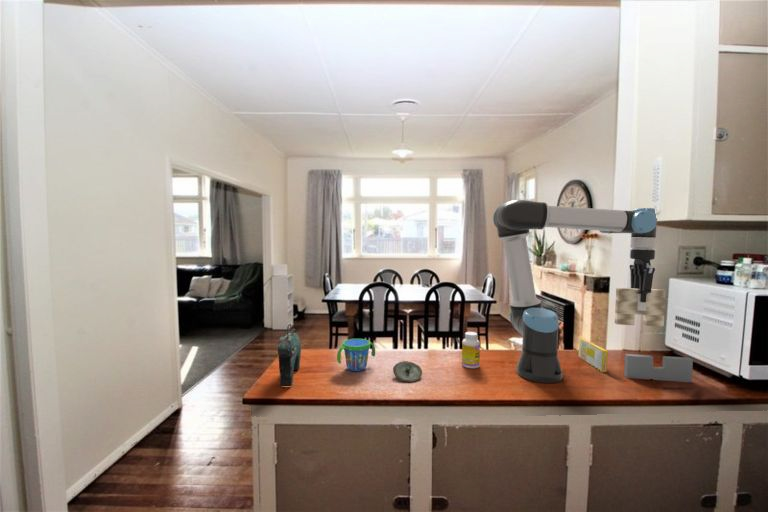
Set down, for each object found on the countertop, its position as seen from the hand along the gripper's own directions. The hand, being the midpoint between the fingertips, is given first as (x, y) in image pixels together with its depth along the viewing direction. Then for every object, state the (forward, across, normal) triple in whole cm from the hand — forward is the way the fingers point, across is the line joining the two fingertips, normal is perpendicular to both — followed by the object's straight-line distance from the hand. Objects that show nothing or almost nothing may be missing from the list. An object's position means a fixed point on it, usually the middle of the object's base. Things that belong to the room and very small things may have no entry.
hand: (639, 309), depth 132 cm
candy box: (+22, -2, +17) cm, 28 cm away
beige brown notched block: (+6, 0, 0) cm, 6 cm away
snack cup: (+23, -24, +107) cm, 112 cm away
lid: (+23, -28, +86) cm, 94 cm away
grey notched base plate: (+22, -13, 0) cm, 26 cm away
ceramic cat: (+23, -37, +128) cm, 135 cm away
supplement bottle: (+23, -13, +64) cm, 69 cm away
